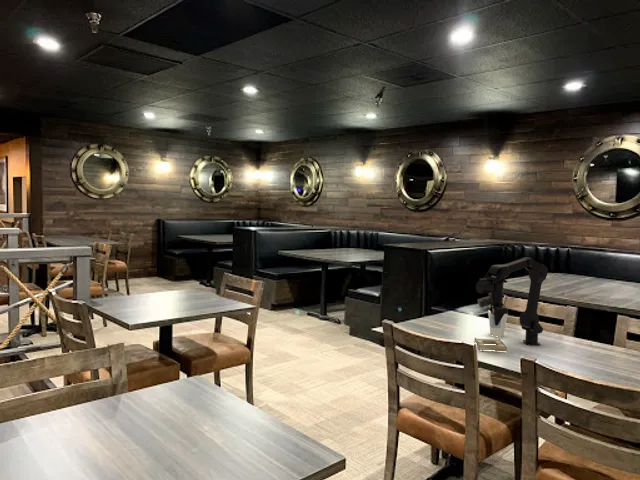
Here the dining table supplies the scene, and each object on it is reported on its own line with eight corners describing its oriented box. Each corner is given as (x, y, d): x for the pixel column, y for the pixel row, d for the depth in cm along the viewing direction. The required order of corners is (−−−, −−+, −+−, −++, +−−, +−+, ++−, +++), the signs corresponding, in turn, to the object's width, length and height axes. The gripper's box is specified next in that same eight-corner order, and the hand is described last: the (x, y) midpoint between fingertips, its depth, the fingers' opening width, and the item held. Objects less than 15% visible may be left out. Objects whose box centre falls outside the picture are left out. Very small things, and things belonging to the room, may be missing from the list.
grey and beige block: (489, 325, 234) (490, 313, 233) (498, 326, 233) (499, 313, 233) (491, 328, 230) (492, 315, 229) (500, 328, 229) (501, 315, 229)
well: (474, 342, 241) (474, 337, 241) (499, 343, 240) (499, 338, 240) (480, 351, 228) (480, 346, 227) (506, 352, 226) (506, 347, 226)
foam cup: (510, 337, 251) (511, 312, 250) (496, 339, 247) (497, 314, 246) (497, 332, 260) (498, 308, 258) (483, 334, 256) (484, 310, 255)
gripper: (475, 288, 240) (473, 318, 241) (483, 295, 222) (482, 328, 223) (498, 288, 239) (496, 319, 240) (509, 296, 220) (507, 329, 222)
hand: (495, 324), depth 231 cm, fingers closed on grey and beige block, 4 cm apart
